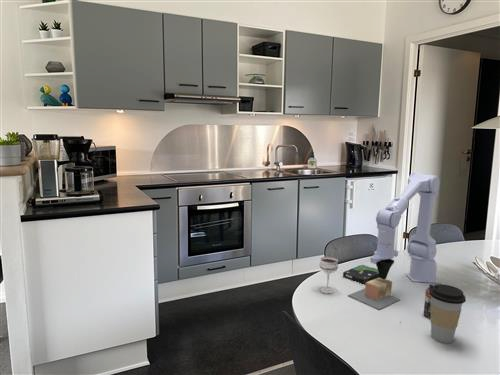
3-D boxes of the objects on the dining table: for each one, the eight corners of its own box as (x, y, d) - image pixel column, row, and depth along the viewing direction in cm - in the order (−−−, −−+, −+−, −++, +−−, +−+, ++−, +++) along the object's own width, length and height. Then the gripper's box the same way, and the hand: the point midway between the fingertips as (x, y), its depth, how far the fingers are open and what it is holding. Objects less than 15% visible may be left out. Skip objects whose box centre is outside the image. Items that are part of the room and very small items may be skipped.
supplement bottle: (441, 313, 126) (445, 281, 124) (444, 322, 120) (448, 289, 119) (422, 310, 128) (425, 279, 126) (424, 318, 122) (427, 285, 120)
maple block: (380, 277, 142) (365, 282, 136) (392, 281, 138) (377, 287, 133) (379, 289, 143) (364, 295, 137) (390, 294, 139) (376, 300, 133)
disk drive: (364, 286, 148) (383, 276, 157) (365, 279, 147) (384, 270, 157) (342, 278, 155) (361, 269, 165) (342, 272, 155) (361, 263, 164)
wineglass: (336, 295, 138) (338, 263, 136) (317, 292, 139) (319, 261, 137) (336, 287, 145) (338, 257, 143) (318, 285, 146) (320, 255, 144)
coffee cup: (418, 329, 116) (423, 283, 113) (447, 328, 116) (453, 283, 114) (436, 347, 106) (442, 297, 104) (467, 346, 107) (474, 296, 105)
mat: (369, 287, 145) (369, 286, 145) (400, 300, 135) (400, 299, 135) (347, 296, 137) (347, 295, 137) (379, 310, 127) (379, 309, 127)
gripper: (387, 236, 144) (384, 270, 146) (364, 243, 135) (361, 278, 137) (404, 241, 138) (401, 276, 140) (381, 248, 129) (378, 285, 132)
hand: (382, 278), depth 138 cm, fingers closed
